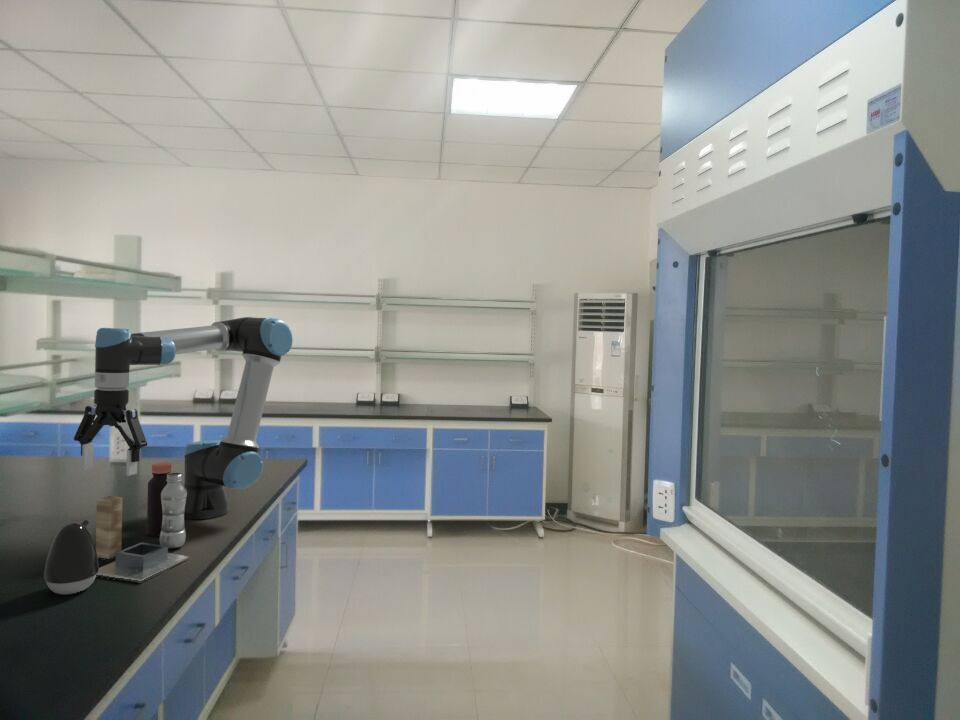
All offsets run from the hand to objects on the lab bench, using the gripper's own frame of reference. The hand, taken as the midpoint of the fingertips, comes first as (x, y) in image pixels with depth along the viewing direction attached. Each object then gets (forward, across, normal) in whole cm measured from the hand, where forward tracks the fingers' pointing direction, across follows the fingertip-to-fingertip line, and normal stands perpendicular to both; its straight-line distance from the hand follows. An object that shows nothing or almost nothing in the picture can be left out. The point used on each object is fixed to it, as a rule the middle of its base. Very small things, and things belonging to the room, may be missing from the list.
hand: (109, 471), depth 158 cm
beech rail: (+22, 0, 0) cm, 22 cm away
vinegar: (+22, -1, +19) cm, 29 cm away
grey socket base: (+22, +13, -3) cm, 26 cm away
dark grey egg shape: (+22, +9, -18) cm, 30 cm away
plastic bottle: (+22, +10, +11) cm, 27 cm away
